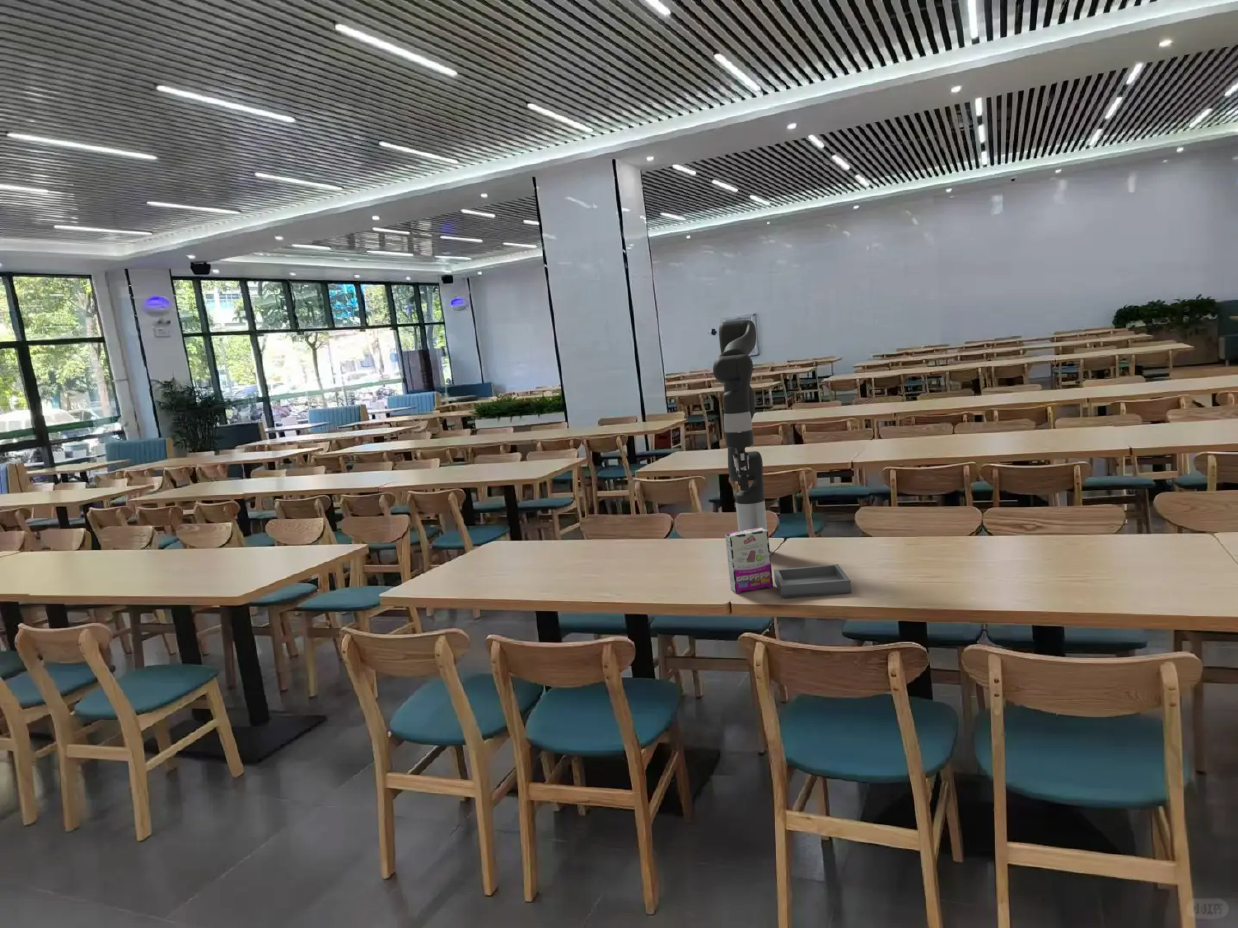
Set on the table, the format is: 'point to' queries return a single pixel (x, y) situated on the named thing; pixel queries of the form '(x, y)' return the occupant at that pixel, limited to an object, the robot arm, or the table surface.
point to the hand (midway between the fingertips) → (743, 488)
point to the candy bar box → (749, 560)
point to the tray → (812, 581)
